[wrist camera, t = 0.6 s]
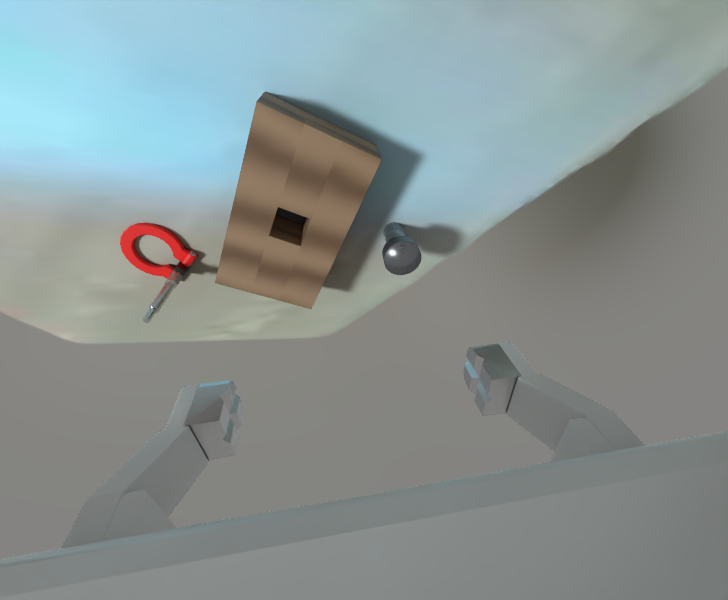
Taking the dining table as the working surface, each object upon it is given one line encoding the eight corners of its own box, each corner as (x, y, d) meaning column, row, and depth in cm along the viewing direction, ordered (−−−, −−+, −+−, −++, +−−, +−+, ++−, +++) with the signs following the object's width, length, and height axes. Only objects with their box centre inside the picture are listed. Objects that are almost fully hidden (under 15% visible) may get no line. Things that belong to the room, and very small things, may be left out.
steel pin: (386, 211, 48) (395, 238, 42) (415, 223, 50) (428, 250, 44) (371, 239, 51) (377, 268, 45) (399, 250, 53) (409, 279, 47)
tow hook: (114, 249, 49) (176, 284, 53) (55, 304, 38) (138, 342, 43) (139, 209, 45) (203, 250, 50) (81, 258, 35) (168, 304, 39)
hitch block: (264, 91, 37) (256, 101, 33) (375, 144, 42) (381, 159, 38) (224, 259, 51) (214, 282, 46) (312, 285, 55) (311, 309, 51)
